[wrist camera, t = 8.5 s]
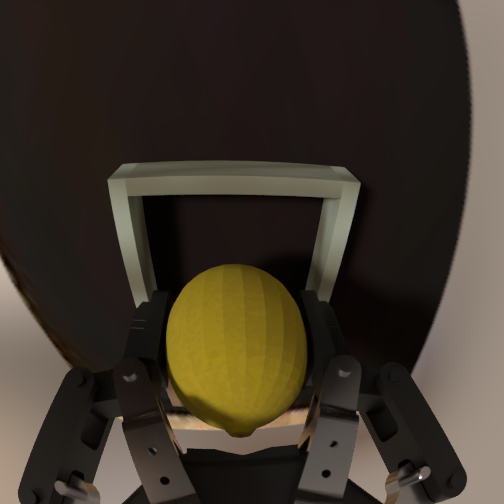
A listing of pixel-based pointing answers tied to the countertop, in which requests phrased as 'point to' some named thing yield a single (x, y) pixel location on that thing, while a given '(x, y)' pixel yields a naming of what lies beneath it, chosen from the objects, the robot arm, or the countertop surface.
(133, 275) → the frame
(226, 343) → the lemon
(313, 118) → the countertop surface
